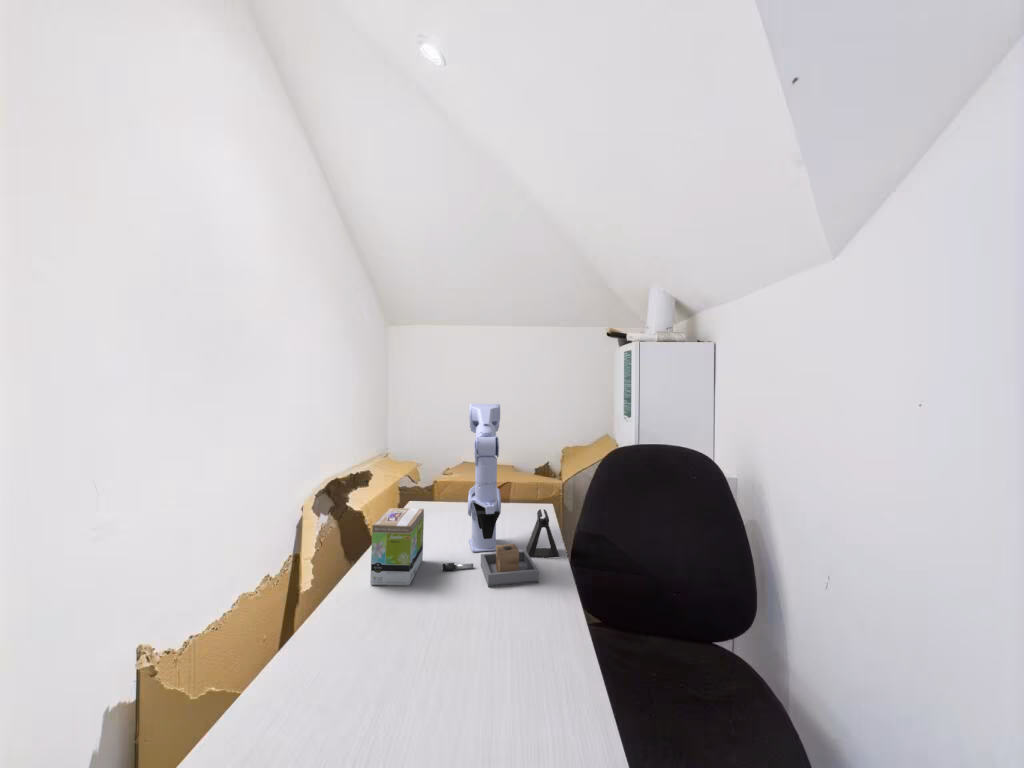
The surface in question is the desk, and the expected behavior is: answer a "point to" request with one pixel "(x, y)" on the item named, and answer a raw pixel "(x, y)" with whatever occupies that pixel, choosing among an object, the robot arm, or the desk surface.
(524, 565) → the tray
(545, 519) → the phone stand
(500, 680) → the desk surface
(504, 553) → the block
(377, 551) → the tea box
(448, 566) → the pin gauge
